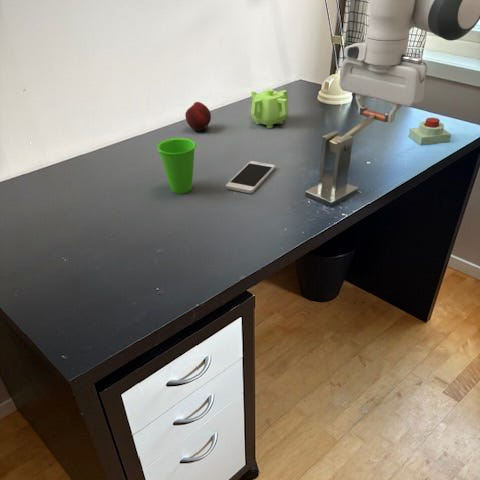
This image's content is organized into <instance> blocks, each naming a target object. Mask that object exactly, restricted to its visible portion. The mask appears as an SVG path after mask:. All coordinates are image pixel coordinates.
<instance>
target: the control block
mask: <svg viewBox="0 0 480 480" xmlns="http://www.w3.org/2000/svg"><path fill="white" fill-rule="evenodd" d="M425 123H426V120H423V121H421V122H419V125H418V127H413V128H411V127H410V128H409V132H408V135H407V136H408V137H409V138H410V139H411V140H413V141H414V142H415V143H417V144H418V145H419V146H425V145H431V144H441V143H448V142H450V140H451V136H452V133H451V132H449V131H447V130H446V129H445V125H444V123H443V122H439V126H438V127H435V128H432V127H427V126H425Z"/></svg>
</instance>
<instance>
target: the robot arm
mask: <svg viewBox="0 0 480 480" xmlns="http://www.w3.org/2000/svg"><path fill="white" fill-rule="evenodd" d="M368 6H369V7H368V19H369V21H368V22H369V23H368V27H367V30H366V32H365V39H364V40H361V41H359V42H356V43H353V44H350V45H347V46H345V48H343V49H344V50H343V57H345V58H344V59H343V60H342V63H341V67H340V72H339V80H338V81H339V82H338V84H339V86H340V89H341V91H344V92H347V93H353V94H355V97H354V98H355V101H356V104H357V108H358V110H357V114H358V115H361V116H363V112H364V110H365V109H368V110H369V105H366V101H365V97H369V98H371V99H376V100H380V101H384V102H389V103H390V108H391V110H390V111H389V112H386V113H384V114H385V121H386V122H385V123H390V124H391V123H394V121H395V119H396V118H395V117H396V114H397V112H398V111H399V110H400V109H401V107H402V106H404V107H408V108H413V107H415V106H418V105H419V104H420V103H421V102H422V101H423V99H424V93H425V85H426V84H425V83H426V77H427V73H428V65H427V63H426V62H425V61H424V60H423V58H422V57H415V56H411V55H408V54H407V50H408V47H409V46H408V45H409V40H410V31H411V30H412V29H414V28H416V29H419V30H421V31H424V32H428V33H431V34H433V35H435V36H437V37H439V38H441V39H443V40H445V41H449V42H450V41H457V40H459V39H461V38H463V37H465V36H466V35H467V34H468V33H470V32H471V31H472V30H473V29H474V28H475V27H476V26H477V24H478V23H479V22H480V0H369V5H368Z"/></svg>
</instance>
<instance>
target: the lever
mask: <svg viewBox="0 0 480 480" xmlns="http://www.w3.org/2000/svg"><path fill="white" fill-rule="evenodd" d="M385 114H386V113H382V112H378V111H375V110H371V109H369V108H368V109H365V110H364V112H363V115H362V116H363V117H366V118H365V119H363V120H362V121H361V122H360V123H359V124H357V125H356V126H354V127H353V128H351V129H350V130H349V131H348V132H346V133H345V134H343V135H342V136H341V135H337V136H336V137H334V138H333V139H332V140H330V141H329V150H330V151H331V152H334V153H336V149H337V141H339V140H341V139H343V138H345V137H347V136H353V137H355V136H356V135H358V133H360V132H361V131H363V130H364V129H366V128H367V127H368V126H369V125H370V124H372V123H373V122H374V121H375V120H376V121H379V122H383V123H387V122H386V121H385Z"/></svg>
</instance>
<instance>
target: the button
mask: <svg viewBox="0 0 480 480" xmlns="http://www.w3.org/2000/svg"><path fill="white" fill-rule="evenodd" d="M425 121H426V123H425V126H427V127H432V128H435V127H438V126H439V122H440V121H441V120H440V118H437V117H427V118H426V119H425ZM440 123H441V122H440Z"/></svg>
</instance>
